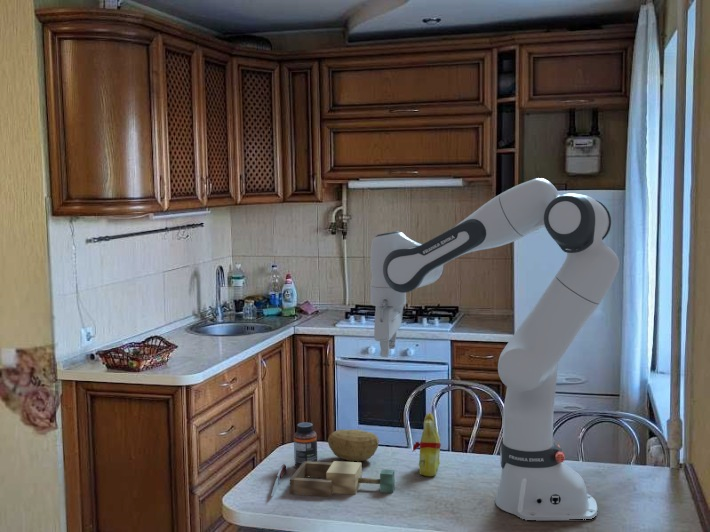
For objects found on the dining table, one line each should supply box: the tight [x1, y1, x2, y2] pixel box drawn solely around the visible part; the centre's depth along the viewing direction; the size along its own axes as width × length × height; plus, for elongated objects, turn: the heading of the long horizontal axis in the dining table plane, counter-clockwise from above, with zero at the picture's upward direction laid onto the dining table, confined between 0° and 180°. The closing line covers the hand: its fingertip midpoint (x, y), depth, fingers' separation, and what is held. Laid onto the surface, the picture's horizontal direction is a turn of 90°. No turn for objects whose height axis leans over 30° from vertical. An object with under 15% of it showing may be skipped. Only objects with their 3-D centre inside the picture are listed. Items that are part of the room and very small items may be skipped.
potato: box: [327, 429, 380, 462], centre depth 217 cm, size 10×14×8 cm
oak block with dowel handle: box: [325, 460, 396, 495], centre depth 197 cm, size 16×8×5 cm, turn 79°
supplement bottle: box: [293, 421, 318, 470], centre depth 212 cm, size 6×6×11 cm
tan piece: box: [289, 461, 333, 498], centre depth 199 cm, size 10×13×4 cm
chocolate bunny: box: [412, 412, 442, 477], centre depth 208 cm, size 7×11×15 cm, turn 167°
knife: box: [270, 463, 287, 497], centre depth 200 cm, size 20×1×3 cm, turn 176°
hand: (388, 352), depth 204 cm, fingers open, 8 cm apart
